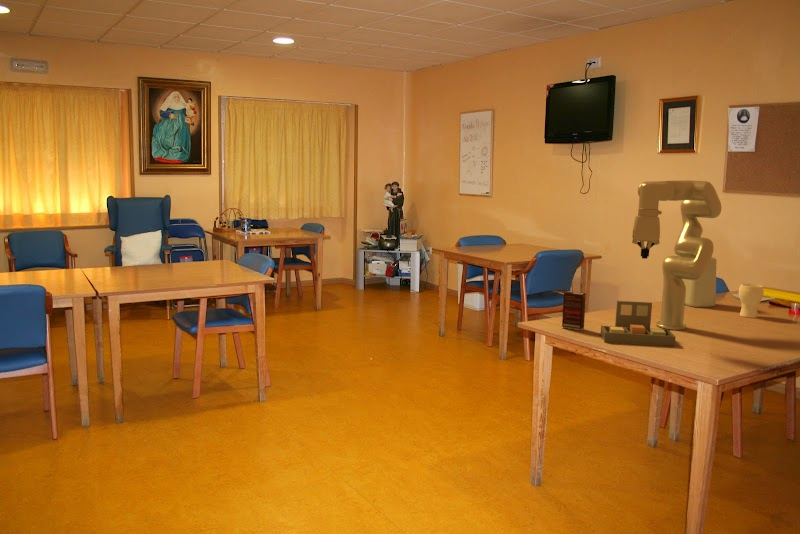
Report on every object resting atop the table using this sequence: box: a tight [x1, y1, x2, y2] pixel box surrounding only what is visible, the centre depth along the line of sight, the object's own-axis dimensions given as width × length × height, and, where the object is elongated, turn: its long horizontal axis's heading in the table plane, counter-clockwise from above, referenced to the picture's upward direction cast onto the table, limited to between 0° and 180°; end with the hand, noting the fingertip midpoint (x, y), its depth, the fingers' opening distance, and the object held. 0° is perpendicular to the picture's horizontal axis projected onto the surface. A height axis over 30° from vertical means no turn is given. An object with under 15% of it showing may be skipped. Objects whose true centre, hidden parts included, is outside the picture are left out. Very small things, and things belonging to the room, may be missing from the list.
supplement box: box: [561, 290, 587, 331], centre depth 300 cm, size 9×5×16 cm, turn 59°
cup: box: [738, 283, 765, 319], centre depth 334 cm, size 11×11×15 cm
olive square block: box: [650, 328, 666, 335], centre depth 282 cm, size 5×5×3 cm
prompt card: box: [614, 300, 653, 329], centre depth 292 cm, size 2×14×14 cm, turn 82°
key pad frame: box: [600, 325, 676, 347], centre depth 283 cm, size 12×27×4 cm, turn 81°
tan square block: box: [609, 327, 624, 333], centre depth 284 cm, size 5×5×3 cm
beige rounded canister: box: [682, 256, 717, 308], centre depth 358 cm, size 15×15×28 cm
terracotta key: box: [630, 325, 645, 334], centre depth 283 cm, size 5×5×3 cm
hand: (644, 258), depth 285 cm, fingers closed
